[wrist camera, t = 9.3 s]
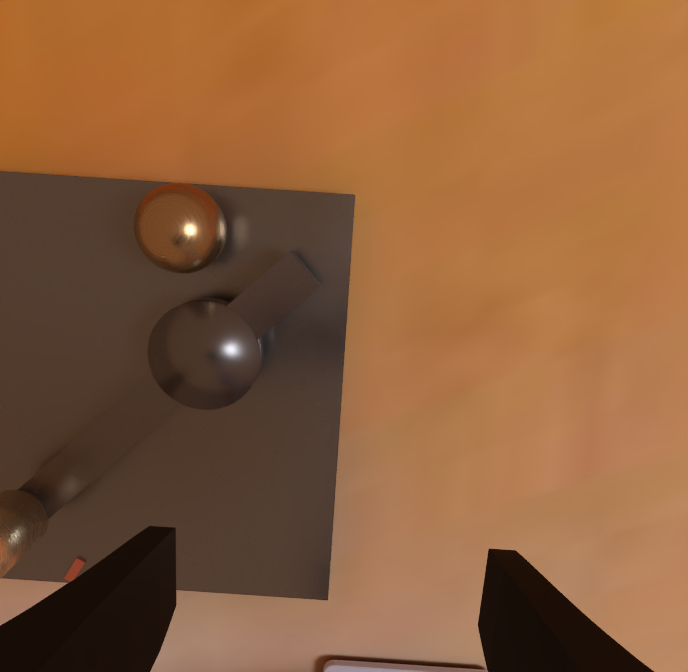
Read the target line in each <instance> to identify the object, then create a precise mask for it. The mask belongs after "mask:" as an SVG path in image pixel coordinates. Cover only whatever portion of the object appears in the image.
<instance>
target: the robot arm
mask: <svg viewBox="0 0 688 672" xmlns="http://www.w3.org/2000/svg"><path fill="white" fill-rule="evenodd" d="M175 607H176V528H174V527H159V526H148V527H147V528H145V529H144V530H142V531H141V532H140V533H138V534H137V535H135V536H134V537H133V538H131V539H130V540H128V541H127V542H126V543H124V544H123V545H122V546H120V547H119V548H117V549H116V550H115V551H113V552H112V553H111V554H109V555H108V556H106V557H105V558H104V559H102V560H101V561H99V562H98V563H97V564H95V565H94V566H92V567H91V568H90V569H88V570H87V571H85V572H84V573H83V574H81V575H80V576H78V577H77V578H75V579H74V580H72V581H71V582H69V583H68V584H66V585H65V586H63V587H62V588H60V589H59V590H57V591H55V592H54V593H52V594H51V595H49V596H48V597H46V598H45V599H43V600H42V601H40V602H39V603H37V604H36V605H34V606H32V607H31V608H29V609H28V610H26V611H24V612H23V613H21V614H19V615H18V616H16V617H14V618H13V619H11V620H9V621H8V622H6V623H4V624H2V625H1V626H0V672H150V671H151V669H152V666H153V664H154V662H155V660H156V658H157V656H158V654H159V652H160V649H161V647H162V644H163V641H164V638H165V636H166V633H167V630H168V627H169V625H170V622H171V619H172V616H173V613H174V610H175ZM478 628H479V633H480V638H481V643H482V648H483V652H484V657H485V661H486V666H487V670H488V671H487V670H481V669H466V668H451V667H436V666H422V665H407V664H392V663H377V662H363V661H348V660H329V661H327V662H326V663H325V664H324V667H323V672H654V671H652V670H651V669H650V668H648V667H647V666H646V665H645V664H643V663H642V662H641V661H639V660H638V659H637V658H636V657H634V656H633V655H632V654H631V653H629V652H628V651H627V650H626V649H624V648H623V647H622V646H621V645H620V644H618V643H617V642H616V641H615V640H614V639H612V638H611V637H610V636H609V635H608V634H606V633H605V632H604V631H603V630H602V629H600V628H599V627H598V626H597V625H596V624H595V623H594V622H592V621H591V620H590V619H589V618H588V617H587V616H586V615H585V614H583V613H582V612H581V611H580V610H579V609H578V608H577V607H576V606H575V605H574V604H572V603H571V602H570V601H569V600H568V599H567V598H566V597H565V596H564V595H563V594H562V593H561V592H559V591H558V590H557V589H556V588H555V587H554V586H553V585H552V584H551V583H550V582H549V581H548V580H547V579H546V578H545V577H544V576H543V575H542V574H540V573H539V572H538V571H537V570H536V569H535V568H534V567H533V566H532V565H531V564H530V563H529V562H528V561H527V560H526V559H525V558H523V557H522V556H521V555H520V554H519V553H518V552H517V551H515V550H500V549H489V551H488V558H487V565H486V572H485V579H484V586H483V593H482V600H481V607H480V614H479V621H478Z"/></svg>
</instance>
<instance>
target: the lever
mask: <svg viewBox="0 0 688 672" xmlns="http://www.w3.org/2000/svg"><path fill="white" fill-rule="evenodd" d="M320 286H321V283H320V282H319V281H318V280H317V279H316V277H315V276H314V275H313V274H312V273H311V272H310V270H309V269H308V268H307V267H306V266H305V265H304V263H303V262H302V261H301V260H300V259H299V258H298V256H297V255H296V254H295V253H294V252H293V251H292V250H291V251H289V252H288V253H286V254H285V255H284V256H283V257H282V258H281V259H280V260H279V261H277V262H276V263H275V264H274V265H273V266H272V267H271V268H269V269H268V270H267V271H266V272H265V273H264V274H263V275H261V276H260V277H259V278H258V279H257V280H256V281H255V282H253V283H252V284H251V285H250V286H249V287H248V288H247V289H246V290H244V291H243V292H242V293H241V294H240V295H239V296H238V297H236V298H235V299H234V300H233V301H232V302H231V303H230V302H228V301H225V300H221V299H216V298H198V299H194V300H190V301H188V302H185V303H183V304H181V305H178V306H176V307H174V308H172V309H171V310H169V311H168V312H167V313H165V314H164V315H163V316H162V317H161V318H160V319H159V320H158V322H157V323H156V325H155V326H154V328H153V330H152V332H151V335H150V338H149V342H148V352H147V353H148V362H149V367H150V370H151V373H150V374H149V375H148V376H147V377H145V378H144V379H143V380H142V381H141V382H140V383H139V384H137V385H136V386H135V387H134V388H133V389H132V390H131V391H129V392H128V393H127V394H126V395H125V396H124V397H123V398H121V399H120V400H119V401H118V402H117V403H116V404H115V405H114V406H112V407H111V408H110V409H109V410H108V411H107V412H106V413H104V414H103V415H102V416H101V417H100V418H99V419H98V420H96V421H95V422H94V423H93V424H92V425H91V426H90V427H88V428H87V429H86V430H85V431H84V432H83V433H82V434H81V435H79V436H78V437H77V438H76V439H75V440H74V441H73V442H71V443H70V444H69V445H68V446H67V447H66V448H65V449H63V450H62V451H61V452H60V453H59V454H58V455H57V456H55V457H54V458H53V459H52V460H51V461H50V462H49V463H48V464H46V465H45V466H44V467H43V468H42V469H41V470H40V471H38V472H37V473H36V474H35V475H34V476H33V477H32V478H30V479H29V480H28V481H27V482H26V483H25V484H24V485H22V486H21V487H20V488H19V489H18V490H5V491H2V492H0V579H1V578H2V577H3V576H4V575H5V574H6V573H7V572H8V571H9V570H10V569H11V568H12V567H13V566H14V565H15V564H16V563H17V562H18V561H19V560H20V559H21V558H22V557H23V556H24V555H25V554H26V553H27V552H28V551H29V550H30V549H31V548H32V547H33V546H34V545H35V544H36V543H37V542H38V541H39V540H40V539H41V538H42V537H43V536H44V535H45V533H46V531H47V528H48V519H49V518H50V517H51V516H52V515H54V514H55V513H56V512H57V511H58V510H59V509H61V508H62V507H63V506H64V505H65V504H66V503H68V502H69V501H70V500H71V499H72V498H73V497H75V496H76V495H77V494H78V493H79V492H80V491H82V490H83V489H84V488H85V487H86V486H87V485H89V484H90V483H91V482H92V481H93V480H94V479H96V478H97V477H98V476H99V475H100V474H102V473H103V472H104V471H105V470H106V469H107V468H109V467H110V466H111V465H112V464H113V463H114V462H116V461H117V460H118V459H119V458H120V457H121V456H123V455H124V454H125V453H126V452H127V451H128V450H130V449H131V448H132V447H133V446H134V445H135V444H137V443H138V442H139V441H140V440H141V439H143V438H144V437H145V436H146V435H147V434H148V433H150V432H151V431H152V430H153V429H154V428H155V427H157V426H158V425H159V424H160V423H161V422H162V421H164V420H165V419H166V418H167V417H168V416H169V415H171V414H172V413H173V412H174V411H175V410H176V409H178V408H179V407H180V406H181V405H185V406H187V407H191V408H194V409H200V410H214V409H219V408H224V407H226V406H229V405H231V404H233V403H235V402H236V401H238V400H239V399H241V398H242V397H243V396H244V395H245V394H246V393H247V392H248V390H249V389H250V388H251V386H252V385H253V383H254V382H255V380H256V379H257V377H258V375H259V373H260V371H261V368H262V364H263V358H264V347H263V341H262V336H263V335H264V334H265V333H267V332H268V331H269V330H270V329H271V328H272V327H274V326H275V325H276V324H277V323H278V322H279V321H281V320H282V319H283V318H284V317H285V316H287V315H288V314H289V313H290V312H291V311H292V310H294V309H295V308H296V307H297V306H298V305H299V304H301V303H302V302H303V301H304V300H305V299H306V298H308V297H309V296H310V295H311V294H312V293H313V292H315V291H316V290H317V289H318V288H319V287H320Z"/></svg>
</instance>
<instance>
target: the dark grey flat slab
mask: <svg viewBox="0 0 688 672" xmlns="http://www.w3.org/2000/svg"><path fill="white" fill-rule="evenodd" d="M354 202H355V195H350V194H335V193H319V192H304V191H289V190H274V189H259V188H244V187H229V186H214V185H199V184H184V183H169V182H153V181H138V180H123V179H108V178H93V177H78V176H63V175H48V174H33V173H18V172H3V171H0V492H2V491H5V490H18V489H19V488H20V487H21V486H22V485H24V484H25V483H26V482H27V481H28V480H29V479H30V478H32V477H33V476H34V475H35V474H36V473H37V472H38V471H40V470H41V469H42V468H43V467H44V466H45V465H46V464H48V463H49V462H50V461H51V460H52V459H53V458H54V457H55V456H57V455H58V454H59V453H60V452H61V451H62V450H63V449H65V448H66V447H67V446H68V445H69V444H70V443H71V442H73V441H74V440H75V439H76V438H77V437H78V436H79V435H81V434H82V433H83V432H84V431H85V430H86V429H87V428H88V427H90V426H91V425H92V424H93V423H94V422H95V421H96V420H98V419H99V418H100V417H101V416H102V415H103V414H104V413H106V412H107V411H108V410H109V409H110V408H111V407H112V406H114V405H115V404H116V403H117V402H118V401H119V400H120V399H121V398H123V397H124V396H125V395H126V394H127V393H128V392H129V391H131V390H132V389H133V388H134V387H135V386H136V385H137V384H139V383H140V382H141V381H142V380H143V379H144V378H145V377H147V376H148V375H149V374H150V373H151V370H150V367H149V362H148V353H147V352H148V342H149V338H150V335H151V332H152V330H153V328H154V326H155V325H156V323H157V322H158V320H159V319H160V318H161V317H162V316H163V315H164V314H165V313H167V312H168V311H169V310H171V309H172V308H174V307H176V306H178V305H181V304H183V303H185V302H188V301H190V300H194V299H198V298H216V299H221V300H225V301H228V302H230V303H231V302H232V301H233V300H234V299H235V298H236V297H238V296H239V295H240V294H241V293H242V292H243V291H244V290H246V289H247V288H248V287H249V286H250V285H251V284H252V283H253V282H255V281H256V280H257V279H258V278H259V277H260V276H261V275H263V274H264V273H265V272H266V271H267V270H268V269H269V268H271V267H272V266H273V265H274V264H275V263H276V262H277V261H279V260H280V259H281V258H282V257H283V256H284V255H285V254H286V253H288V252H289V251H291V250H292V251H293V252H294V253H295V254H296V255H297V256H298V258H299V259H300V260H301V261H302V262H303V263H304V265H305V266H306V267H307V268H308V269H309V270H310V272H311V273H312V274H313V275H314V276H315V277H316V279H317V280H318V281H319V282H320V283H321V286H320V287H319V288H318V289H317V290H316V291H315V292H313V293H312V294H311V295H310V296H309V297H308V298H306V299H305V300H304V301H303V302H302V303H301V304H299V305H298V306H297V307H296V308H295V309H294V310H292V311H291V312H290V313H289V314H288V315H287V316H285V317H284V318H283V319H282V320H281V321H279V322H278V323H277V324H276V325H275V326H274V327H272V328H271V329H270V330H269V331H268V332H267V333H265V334H264V335H263V336H262V341H263V347H264V358H263V364H262V368H261V371H260V373H259V375H258V377H257V379H256V380H255V382H254V383H253V385H252V386H251V388H250V389H249V390H248V392H247V393H246V394H245V395H244V396H243V397H242V398H241V399H239V400H238V401H236V402H235V403H233V404H231V405H229V406H226V407H224V408H219V409H214V410H200V409H194V408H191V407H187V406H185V405H181V406H180V407H179V408H178V409H176V410H175V411H174V412H173V413H172V414H171V415H169V416H168V417H167V418H166V419H165V420H164V421H162V422H161V423H160V424H159V425H158V426H157V427H155V428H154V429H153V430H152V431H151V432H150V433H148V434H147V435H146V436H145V437H144V438H143V439H141V440H140V441H139V442H138V443H137V444H135V445H134V446H133V447H132V448H131V449H130V450H128V451H127V452H126V453H125V454H124V455H123V456H121V457H120V458H119V459H118V460H117V461H116V462H114V463H113V464H112V465H111V466H110V467H109V468H107V469H106V470H105V471H104V472H103V473H102V474H100V475H99V476H98V477H97V478H96V479H94V480H93V481H92V482H91V483H90V484H89V485H87V486H86V487H85V488H84V489H83V490H82V491H80V492H79V493H78V494H77V495H76V496H75V497H73V498H72V499H71V500H70V501H69V502H68V503H66V504H65V505H64V506H63V507H62V508H61V509H59V510H58V511H57V512H56V513H55V514H54V515H52V516H51V517H50V518H49V519H48V528H47V531H46V533H45V535H44V536H43V537H42V538H41V539H40V540H39V541H38V542H37V543H36V544H35V545H34V546H33V547H32V548H31V549H30V550H29V551H28V552H27V553H26V554H25V555H24V556H23V557H22V558H21V559H20V560H19V561H18V562H17V563H16V564H15V565H14V566H13V567H12V568H11V569H10V570H9V571H8V572H7V573H6V574H5V575H4V576H3V577H2V578H7V579H21V580H36V581H51V582H66V583H69V582H71V581H72V580H74V579H75V578H77V577H78V576H80V575H81V574H83V573H84V572H85V571H87V570H88V569H90V568H91V567H92V566H94V565H95V564H97V563H98V562H99V561H101V560H102V559H104V558H105V557H106V556H108V555H109V554H111V553H112V552H113V551H115V550H116V549H117V548H119V547H120V546H122V545H123V544H124V543H126V542H127V541H128V540H130V539H131V538H133V537H134V536H135V535H137V534H138V533H140V532H141V531H142V530H144V529H145V528H147V527H148V526H159V527H174V528H176V590H184V591H199V592H214V593H229V594H243V595H258V596H273V597H288V598H303V599H317V600H328V590H329V575H330V560H331V545H332V530H333V515H334V500H335V486H336V471H337V456H338V441H339V426H340V411H341V396H342V381H343V366H344V351H345V336H346V321H347V307H348V292H349V277H350V262H351V247H352V232H353V217H354Z"/></svg>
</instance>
